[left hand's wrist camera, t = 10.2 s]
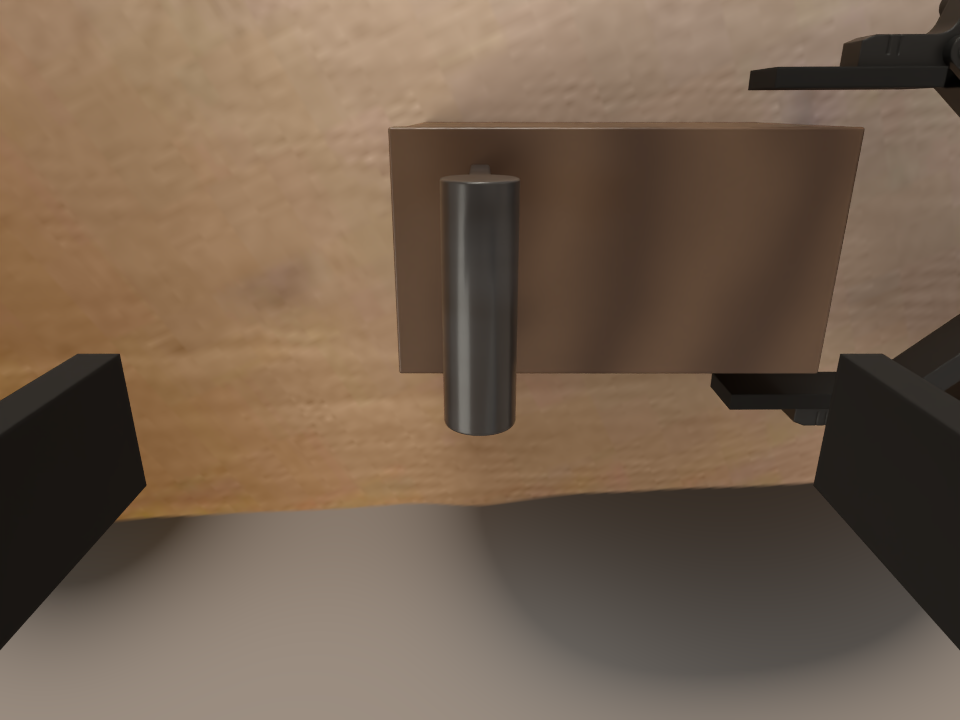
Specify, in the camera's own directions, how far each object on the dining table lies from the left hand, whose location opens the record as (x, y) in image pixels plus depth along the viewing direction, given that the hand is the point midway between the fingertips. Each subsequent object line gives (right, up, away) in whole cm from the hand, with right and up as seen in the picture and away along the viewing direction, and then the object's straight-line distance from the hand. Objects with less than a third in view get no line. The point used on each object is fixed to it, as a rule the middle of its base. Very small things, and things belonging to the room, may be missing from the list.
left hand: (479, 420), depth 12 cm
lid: (+5, +6, +14) cm, 16 cm away
